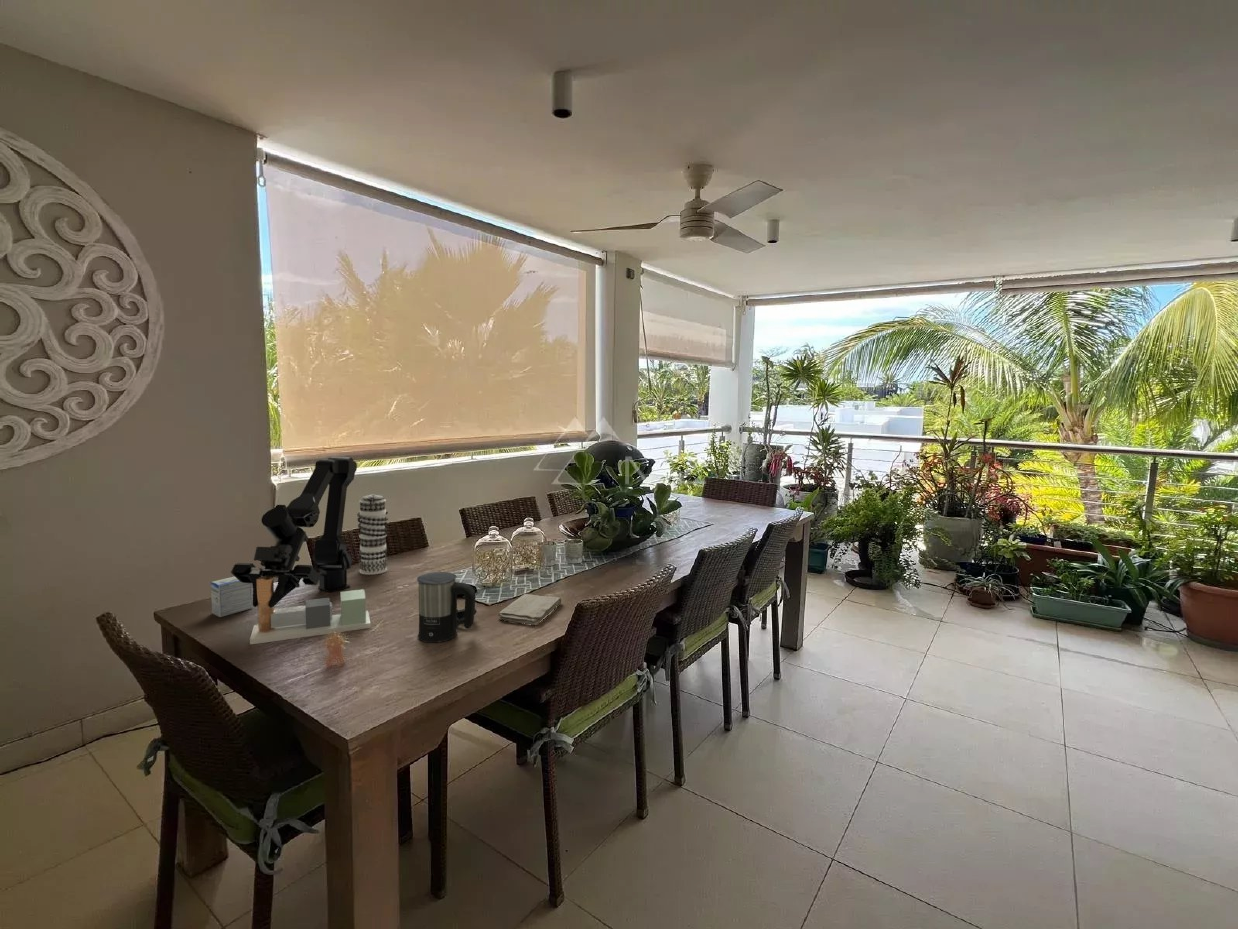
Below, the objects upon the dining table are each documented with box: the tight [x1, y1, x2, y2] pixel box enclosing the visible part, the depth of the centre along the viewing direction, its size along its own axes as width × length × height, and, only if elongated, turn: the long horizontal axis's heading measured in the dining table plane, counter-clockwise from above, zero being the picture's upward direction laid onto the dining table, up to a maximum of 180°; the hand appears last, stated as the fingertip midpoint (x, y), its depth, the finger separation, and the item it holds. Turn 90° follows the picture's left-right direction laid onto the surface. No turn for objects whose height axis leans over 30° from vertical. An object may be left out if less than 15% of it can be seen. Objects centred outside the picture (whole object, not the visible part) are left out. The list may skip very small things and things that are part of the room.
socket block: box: [339, 588, 367, 625], centre depth 144 cm, size 6×7×6 cm
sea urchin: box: [313, 630, 356, 669], centre depth 122 cm, size 12×12×8 cm
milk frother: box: [416, 571, 477, 644], centre depth 142 cm, size 14×16×15 cm
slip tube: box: [256, 576, 333, 631], centre depth 138 cm, size 16×3×12 cm, turn 117°
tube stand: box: [249, 597, 372, 645], centre depth 140 cm, size 26×9×7 cm, turn 117°
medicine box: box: [210, 575, 253, 618], centre depth 149 cm, size 8×4×9 cm, turn 149°
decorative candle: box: [356, 494, 389, 575], centre depth 186 cm, size 9×9×25 cm
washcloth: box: [497, 593, 562, 626], centre depth 157 cm, size 12×18×3 cm, turn 166°
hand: (262, 606), depth 134 cm, fingers closed on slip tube, 3 cm apart
